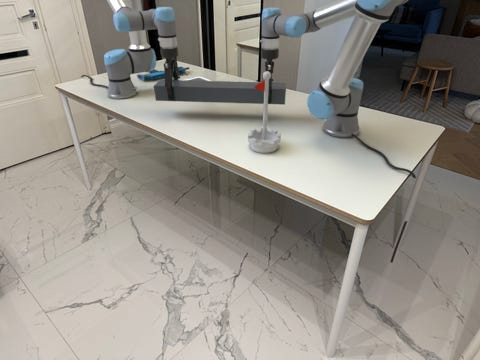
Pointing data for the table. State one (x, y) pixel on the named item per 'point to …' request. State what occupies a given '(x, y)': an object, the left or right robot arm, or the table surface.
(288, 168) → the table surface
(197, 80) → the tablet
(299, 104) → the table surface
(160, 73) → the submachine gun
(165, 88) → the wide beam
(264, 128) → the flag stand
